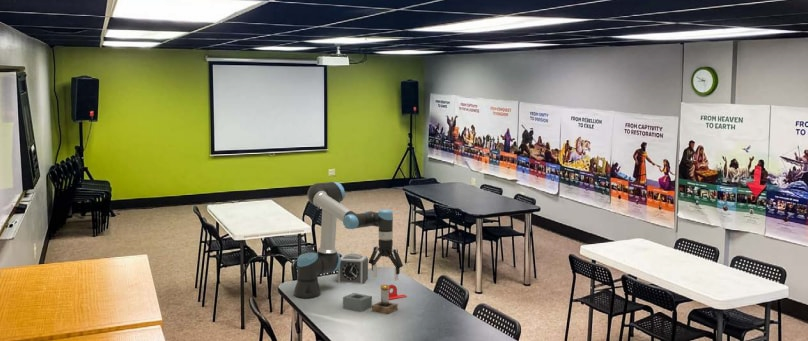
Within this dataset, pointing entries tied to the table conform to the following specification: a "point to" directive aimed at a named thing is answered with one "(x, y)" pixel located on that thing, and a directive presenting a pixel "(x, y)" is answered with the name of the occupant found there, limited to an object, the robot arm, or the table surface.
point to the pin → (385, 295)
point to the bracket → (394, 293)
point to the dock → (357, 302)
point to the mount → (384, 308)
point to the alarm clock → (353, 269)
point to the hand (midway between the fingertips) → (385, 278)
